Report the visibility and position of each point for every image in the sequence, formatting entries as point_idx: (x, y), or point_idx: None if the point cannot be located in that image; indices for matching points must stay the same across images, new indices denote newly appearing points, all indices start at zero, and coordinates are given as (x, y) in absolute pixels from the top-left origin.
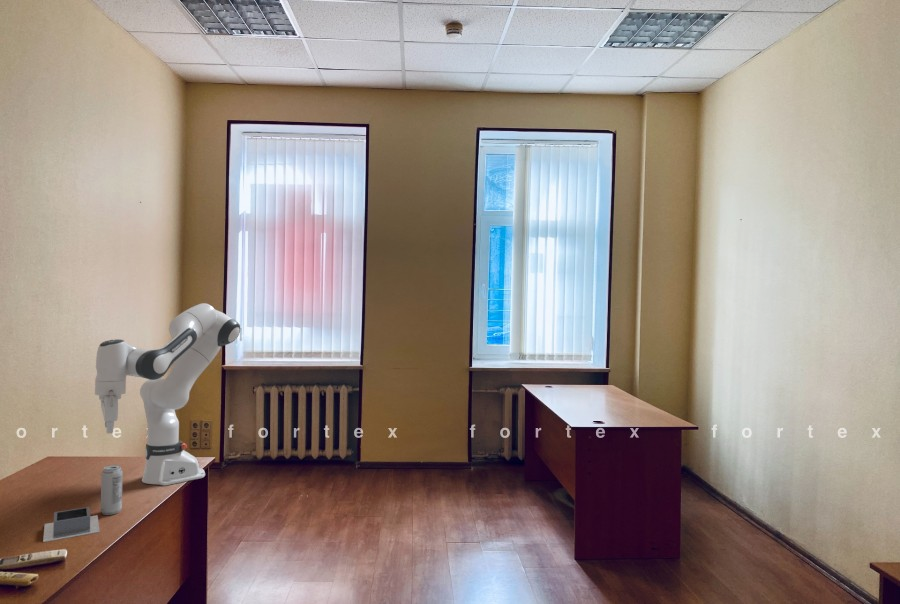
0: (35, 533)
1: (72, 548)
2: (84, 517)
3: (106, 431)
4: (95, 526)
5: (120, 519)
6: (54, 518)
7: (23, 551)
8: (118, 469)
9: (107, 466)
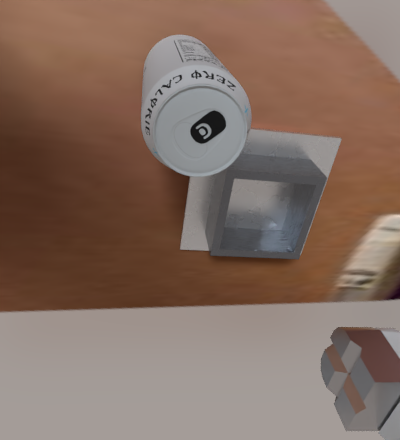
0: (226, 263)
1: (393, 205)
2: (321, 191)
3: (331, 380)
4: (299, 143)
5: (278, 59)
6: (267, 256)
7: (323, 282)
8: (237, 100)
9: (159, 152)
